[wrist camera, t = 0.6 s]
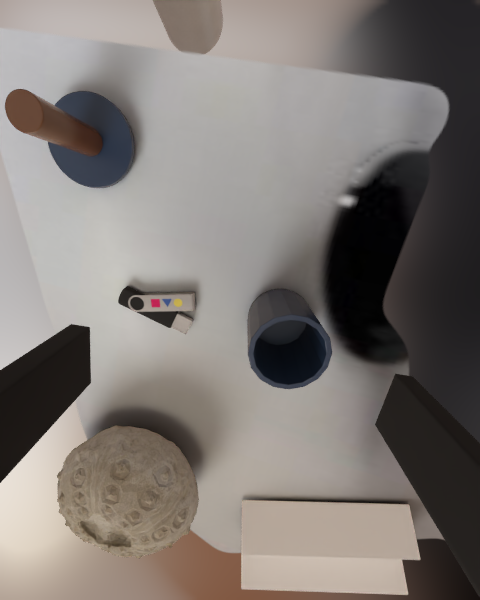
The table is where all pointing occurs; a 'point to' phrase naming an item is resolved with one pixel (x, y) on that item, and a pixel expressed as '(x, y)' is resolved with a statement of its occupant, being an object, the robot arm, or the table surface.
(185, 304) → the usb flash drive
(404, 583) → the z bracket
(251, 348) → the tin
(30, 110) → the lid
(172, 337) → the table surface
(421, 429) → the robot arm
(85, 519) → the decorative shell
